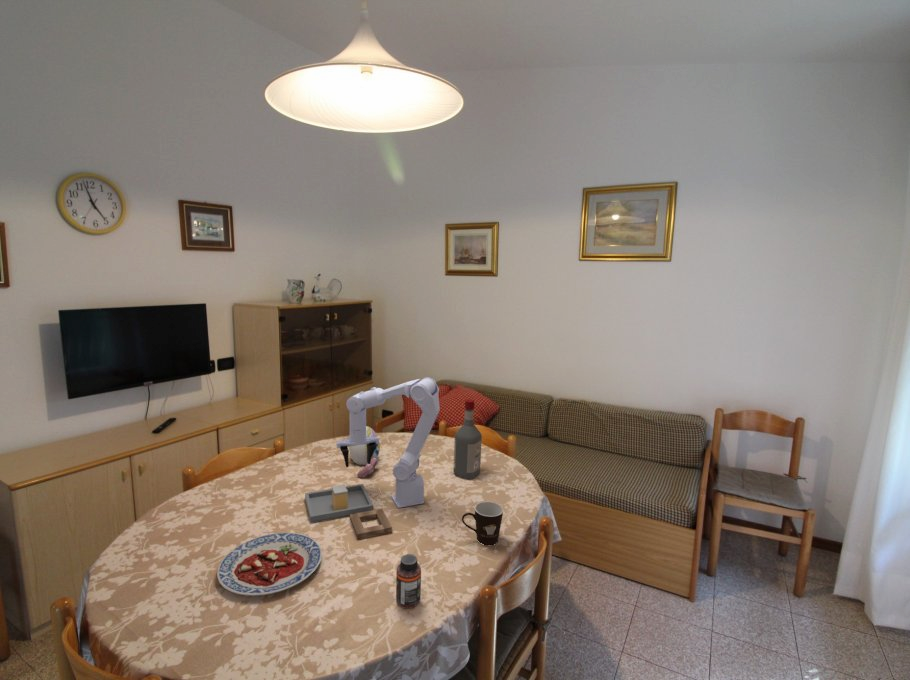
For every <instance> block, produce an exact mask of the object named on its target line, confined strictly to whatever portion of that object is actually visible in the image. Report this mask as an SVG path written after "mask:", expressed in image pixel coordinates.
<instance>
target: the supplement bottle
mask: <svg viewBox="0 0 910 680" xmlns="http://www.w3.org/2000/svg"><path fill="white" fill-rule="evenodd" d="M421 569H422V567H421V565H420V564H419V562H418V557H417V555H415V554H412V553H407V554H404V555H402V556H401V557H400V562H399V564H398V565H397V566H396V570H395V571H396V575H395V577H396V579H395V588H396V589H395V591H396V592H395V600H396V603H397V605H398V606H400V607H402V608H404V609H411V608H412V609H413V608H414V607H416V606H418V604H419V603H420V601H421V591H422V587H421V586H422V570H421Z"/></svg>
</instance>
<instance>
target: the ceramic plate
mask: <svg viewBox="0 0 910 680" xmlns="http://www.w3.org/2000/svg"><path fill="white" fill-rule="evenodd" d="M322 558H323V551H322V548H321V545H320V544H319V543H318V542H317V541H316V540H315V539H313V538H312V537H310V536H307V535H304V534H302V533H301V534H300V533H297V532H296V533H294V532H277V533H271V534H265V535H262V536H258V537H256V538H253V539H250V540H248V541H245V542H243V543H242V544H240V545H237V547H235V548H234V549H232V550H231V551H229V552H228V553H227V554H226V556H224V558H222V560H221V562H220V563H219V565H218V568H217V572H216V573H217V574H216V577H217V581H218V582H219V584H220V585H221V586H222V587H223V588H224V589H225V590H226V591H229V592H230V593H233V594H236V595H240V596H241V595H242V596H250V597H251V596H255V597H256V596H265V595H270V594H275V593H279V592H283V591H285V590H288V589H290V588H293V587H295V586H296V585H298V584H301V583H302V582H303V581H305V580H306V579H308V578H309V577H310V576H312V574H313V573H314V572H315V571H316V570H317V569H318V568H319V566H320V563H321V560H322Z"/></svg>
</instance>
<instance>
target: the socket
mask: <svg viewBox="0 0 910 680" xmlns="http://www.w3.org/2000/svg"><path fill="white" fill-rule="evenodd" d="M373 520H376V521H377V523H378V525H374V526H369V527H364V525H363V523H362V522H368V521H373ZM349 521H350V525H351V527H352V530H353V532H354V535H355V537H356V540H357V541H358V540H363V539H367V538H368V539H369V538H373V537H378V536H383V535H387V534H391V533H393V527H392V524H391V522H390V520H389V518H388V516H387V515H386V513H385V510H383V508H378V509H374V510H372V511H366V512H361V513H355V514H350V516H349Z"/></svg>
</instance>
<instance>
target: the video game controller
mask: <svg viewBox="0 0 910 680" xmlns="http://www.w3.org/2000/svg"><path fill="white" fill-rule="evenodd" d="M379 461H380V460H379V459H378V458H377V459H376V458H373V459H371V462H370V464H368V463H367V464H366V465H364V468H362V469H360V470H359V472H358V473H357V474H356V476H357V478H359V479H360V478H361V479H362V478H365V477H366V476H370V475H371V473H373V472H374V471H375V468H376V466H377V465H378V463H379Z"/></svg>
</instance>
